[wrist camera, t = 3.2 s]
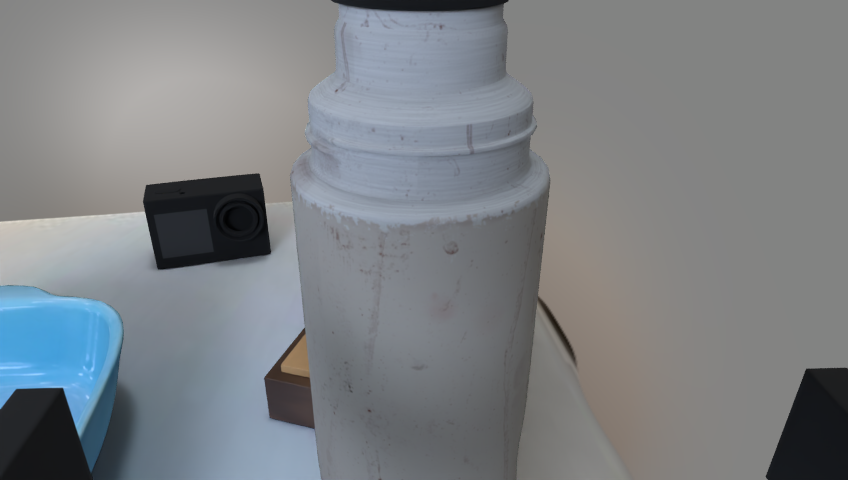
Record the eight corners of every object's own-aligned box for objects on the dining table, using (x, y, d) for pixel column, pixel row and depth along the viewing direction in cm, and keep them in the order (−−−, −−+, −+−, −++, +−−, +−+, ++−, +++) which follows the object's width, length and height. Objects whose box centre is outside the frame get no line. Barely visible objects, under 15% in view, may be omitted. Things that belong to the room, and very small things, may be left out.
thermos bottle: (459, 513, 34) (488, -46, 21) (534, 656, 28) (640, -29, 15) (317, 561, 31) (249, -43, 19) (361, 732, 25) (304, -21, 12)
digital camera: (155, 277, 56) (140, 206, 53) (158, 249, 61) (144, 183, 57) (272, 260, 59) (264, 192, 56) (267, 235, 64) (259, 171, 60)
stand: (517, 334, 49) (521, 291, 47) (479, 468, 37) (482, 418, 35) (352, 304, 52) (350, 263, 50) (269, 418, 40) (262, 370, 39)
